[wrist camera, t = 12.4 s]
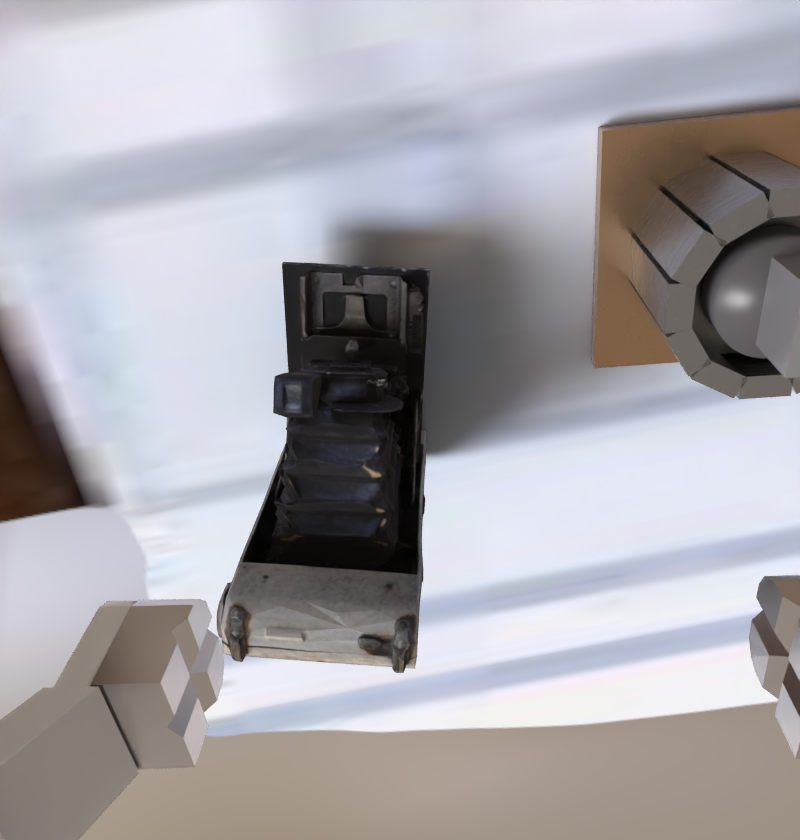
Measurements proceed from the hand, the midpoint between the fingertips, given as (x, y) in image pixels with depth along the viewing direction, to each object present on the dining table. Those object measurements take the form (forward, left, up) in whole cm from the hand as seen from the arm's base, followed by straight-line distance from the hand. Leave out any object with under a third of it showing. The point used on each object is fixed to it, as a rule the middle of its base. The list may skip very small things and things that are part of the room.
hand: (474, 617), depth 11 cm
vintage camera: (+12, -7, -34) cm, 37 cm away
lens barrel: (+6, +15, -34) cm, 38 cm away
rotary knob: (+6, +15, -27) cm, 31 cm away
